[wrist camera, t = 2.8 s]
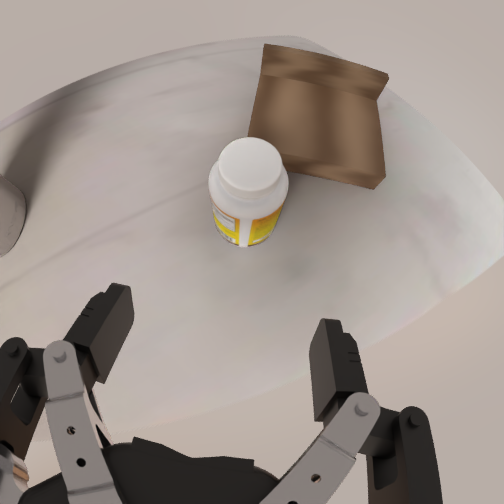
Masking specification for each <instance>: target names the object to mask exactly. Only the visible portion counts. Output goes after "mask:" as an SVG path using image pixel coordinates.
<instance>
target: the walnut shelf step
mask: <svg viewBox="0 0 504 504" xmlns="http://www.w3.org/2000/svg"><path fill="white" fill-rule="evenodd" d="M388 80H389V77H388V74H387V73H384V72H381V71H378V70H375V69H372V68H369V67H366V66H363V65H360V64H356V63H353V62H350V61H346V60H343V59H339V58H335V57H331V56H327V55H323V54H319V53H314V52H310V51H305V50H300V49H295V48H289V47H283V46H277V45H271V44H264V48H263V57H262V65H261V74H260V79H259V83H258V88H257V93H256V97H255V102H254V107H253V112H252V117H251V121H250V126H249V131H248V136H247V137H254V138H259V139H262V140H265V141H267V142H269V143H270V144H271V145H273V146H274V147H275V148H276V150H277V151H278V152H279V154H280V156H281V159H282V164H283V166H284V168H285V170H286V171H289V172H295V173H300V174H305V175H311V176H316V177H321V178H325V179H330V180H335V181H339V182H344V183H348V184H353V185H357V186H361V187H365V188H369V189H373V190H374V189H375V187H376V186H377V185H378V184H379V183H380V182H381V181H382V180H383V179H384V178H385V177H386V174H385V163H384V152H383V143H382V135H381V127H380V120H379V114H378V107H377V99H378V97H379V96H380V94H381V92H382V90H383V89H384V87H385V85H386V84H387V82H388Z"/></svg>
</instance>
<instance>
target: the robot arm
mask: <svg viewBox="0 0 504 504" xmlns="http://www.w3.org/2000/svg"><path fill="white" fill-rule="evenodd" d="M25 213H26V202H25V198H24V195H23V193H22V192H21V191H20V190H19V189H18V188H17V187H15V186H14V185H13V184H12V183H10V182H9V181H8V180H6V179H5V178H4V177H3V176H2V175H0V257H1V256H3V255H4V254H6V253H7V252H8V251H9V250H10V249H11V248H12V247H13V245H14V244H15V242H16V241H17V239H18V237H19V235H20V232H21V230H22V227H23V224H24V219H25ZM133 321H134V308H133V302H132V295H131V289H130V287H129V286H126V285H122V284H117V283H112V284H111V285H110V286H109V288H108V289H107V291H106V292H105V293H103V292H100V293H98V294H97V295H95V296H94V297H92V298H91V299H90V301H89V302H88V304H87V305H86V306H85V308H84V309H83V311H82V312H81V315H79V317H78V318H77V319H76V321H75V322H74V324H73V325H72V327H71V328H70V330H69V331H68V333H67V335H66V336H65V338H64V339H63V340H59V341H55V342H52V343H51V344H49V345H48V346H47V347H46V349H42V348H29V347H28V346H27V344H26V342H25V341H24V340H23V339H22V338H19V337H14V338H10V339H8V340H7V341H6V342H5V343H4V344H3V345H2V346H1V348H0V504H326V503H327V501H328V500H329V499H330V498H331V496H332V495H333V494H334V492H335V491H336V490H337V488H338V487H339V485H340V484H341V483H342V481H343V480H344V478H345V477H346V476H347V474H348V473H349V471H350V470H351V468H352V467H353V465H354V464H355V461H356V458H355V456H356V454H357V453H361V454H365V455H366V460H367V476H368V502H369V504H443V501H442V492H441V485H440V478H439V471H438V465H437V459H436V454H435V448H434V443H433V439H432V434H431V430H430V425H429V421H428V418H427V416H426V414H425V413H424V412H423V411H422V410H421V409H420V408H417V407H414V406H409V407H406V408H404V409H403V410H402V411H401V412H397V411H393V410H389V409H385V408H383V407H380V406H379V403H378V402H377V400H376V399H375V398H374V397H373V396H371V395H369V393H368V389H367V385H366V380H365V376H364V371H363V367H362V364H361V359H360V355H359V351H358V347H357V343H356V341H355V340H354V339H353V337H352V336H351V335H350V333H343V329H342V325H341V322H340V320H334V319H325V318H322V319H321V320H320V322H319V325H318V327H317V330H316V332H315V335H314V337H313V339H312V342H311V345H310V350H309V359H310V370H311V380H312V392H313V393H312V394H313V406H314V421H318V422H323V425H324V429H323V430H322V431H321V432H320V434H319V435H318V436H317V437H316V439H315V440H314V441H313V442H312V444H311V445H310V446H309V447H308V448H307V450H306V451H305V452H304V453H303V454H302V455H301V457H300V458H299V459H298V460H297V461H296V462H295V463H294V464H293V466H291V468H290V469H289V470H288V471H287V472H286V473H285V474H284V475H283V476H282V477H281V478H280V479H277V478H276V477H275V476H274V475H272V474H271V473H269V472H267V471H266V470H263V469H261V468H259V467H256V466H254V460H253V459H243V458H242V459H241V458H233V457H225V456H220V457H204V458H191V457H188V456H186V455H183V454H181V453H179V452H176V451H175V450H173V449H171V448H169V447H166V446H164V445H162V444H159V443H155V442H151V441H148V440H144V439H140V438H137V437H134V438H133V441H132V443H118V444H114V443H113V441H112V439H111V436H110V434H109V432H108V430H107V428H106V426H105V423H104V420H103V418H102V415H101V412H100V409H99V406H98V402H97V399H96V396H95V393H94V390H93V386H94V384H95V382H96V381H97V382H100V383H103V384H105V381H106V379H107V377H108V375H109V373H110V371H111V368H112V366H113V364H114V362H115V360H116V358H117V356H118V354H119V351H120V349H121V347H122V345H123V343H124V341H125V339H126V337H127V335H128V333H129V331H130V329H131V327H132V325H133ZM18 386H19V387H18ZM17 388H18V389H17ZM16 390H17V391H16ZM15 392H16V394H15ZM14 394H15V396H14ZM13 396H14V398H13ZM12 398H13V400H12ZM48 398H49V400H48ZM11 400H12V402H11ZM44 407H45V409H46V414H47V419H48V424H49V428H50V433H51V437H52V441H53V445H54V448H55V452H56V456H57V459H58V462H59V466H60V469H61V473H59V474H57V475H55V476H53V477H51V478H49V479H47V480H45V481H43V482H41V483H39V484H37V485H35V486H33V487H31V488H28V485H27V482H28V481H29V475H28V471H27V467H26V465H25V463H24V460H25V456H26V454H27V451H28V448H29V445H30V442H31V440H32V437H33V434H34V432H35V429H36V426H37V424H38V421H39V419H40V416H41V414H42V411H43V409H44Z"/></svg>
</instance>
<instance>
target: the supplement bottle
mask: <svg viewBox="0 0 504 504" xmlns="http://www.w3.org/2000/svg"><path fill="white" fill-rule="evenodd" d="M288 186H289V181H288V175H287V172H286V170H285V168H284V166H283V164H282V159H281V156H280V154H279V152H278V151H277V150H276V148H275V147H274V146H273V145H271V144H270V143H269V142H267V141H265V140H262V139H259V138H254V137H245V138H240V139H237V140H234V141H232V142H231V143H229V144H228V145H227V146H226V147H225V148H224V149H223V150H222V152H221V154H220V157H219V159H218V160H217V161H216V162H215V164H214V165H213V167H212V169H211V171H210V174H209V179H208V187H209V193H210V199H211V204H212V209H213V214H214V219H215V224H216V227H217V230H218V232H219V233H220V235H221V236H222V237H223V238H224V239H225V240H226V241H227V242H229V243H230V244H232V245H235V246H238V247H252V246H256V245H259V244H260V243H262V242H264V241H265V240H266V239H267V238H268V237H269V236H270V235H271V233H272V232H273V230H274V227H275V224H276V222H277V219H278V217H279V214H280V211H281V209H282V206H283V204H284V201H285V198H286V195H287V192H288Z"/></svg>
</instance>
